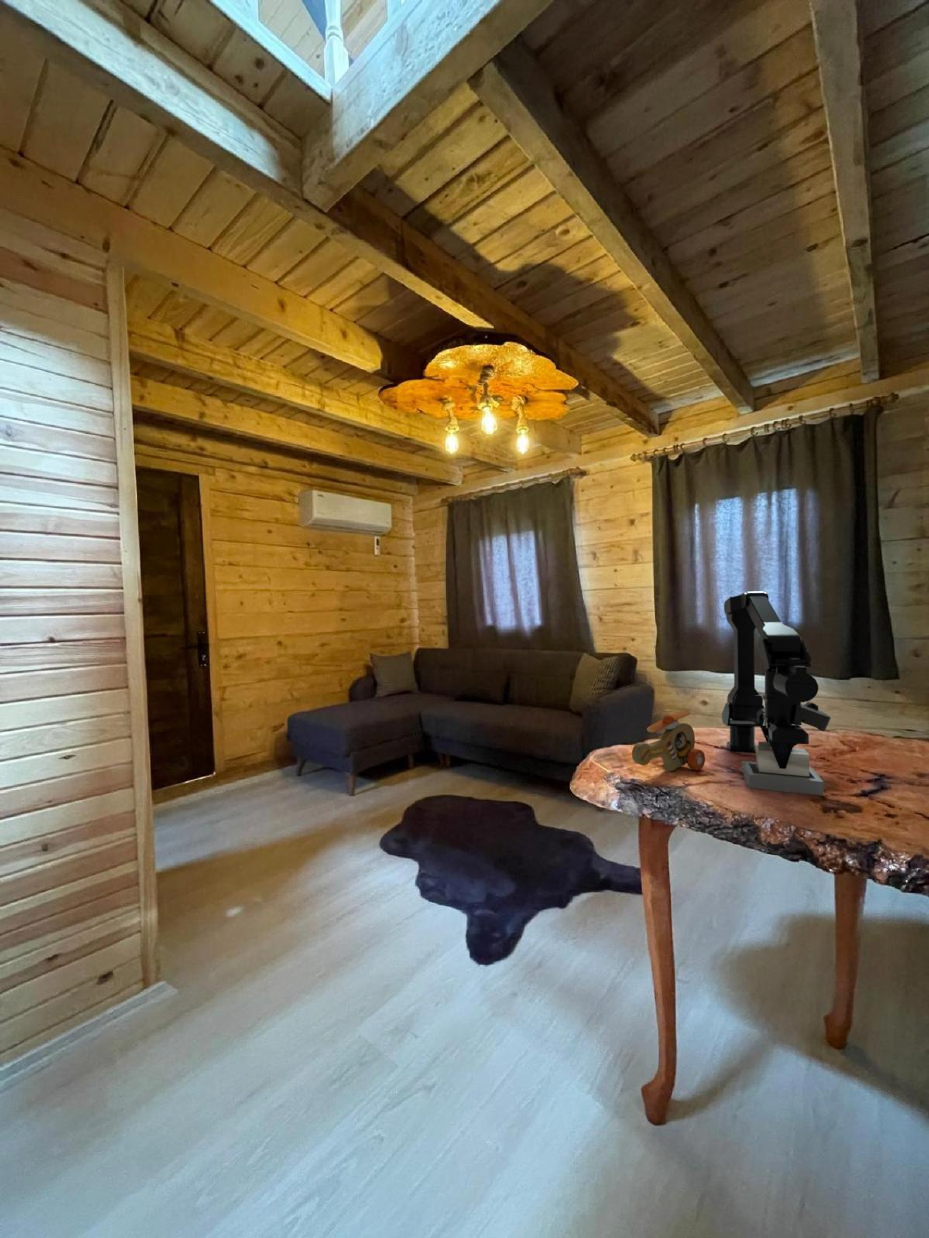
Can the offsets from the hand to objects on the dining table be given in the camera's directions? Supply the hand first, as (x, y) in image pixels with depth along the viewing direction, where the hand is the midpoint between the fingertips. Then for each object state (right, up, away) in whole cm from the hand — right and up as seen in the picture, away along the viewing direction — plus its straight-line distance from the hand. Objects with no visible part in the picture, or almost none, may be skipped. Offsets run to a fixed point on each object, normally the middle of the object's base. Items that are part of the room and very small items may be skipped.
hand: (780, 765), depth 107 cm
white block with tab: (0, -1, 0) cm, 1 cm away
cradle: (0, -4, 0) cm, 4 cm away
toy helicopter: (-20, -4, +9) cm, 23 cm away
